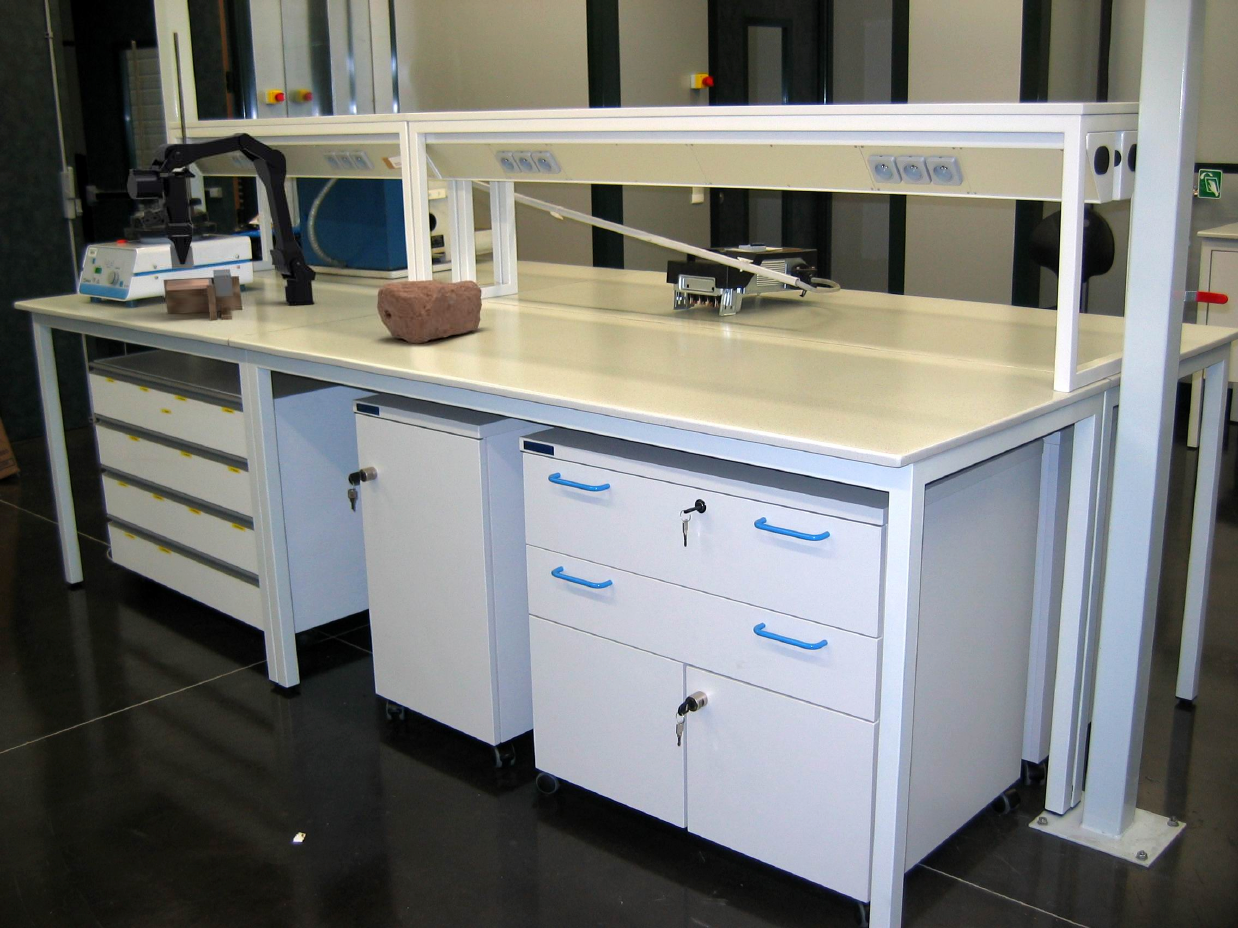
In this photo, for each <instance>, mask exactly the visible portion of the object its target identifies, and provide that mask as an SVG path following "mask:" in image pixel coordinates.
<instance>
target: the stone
mask: <svg viewBox="0 0 1238 928" xmlns="http://www.w3.org/2000/svg"><path fill="white" fill-rule="evenodd" d="M482 291H483V290H482V288H481V287H480V286H479V285H478V283H476V281H474V280H461V281H458V282H457V281H456V282H443V281H441V280H436V279H426V280H411V281H410V280H403V281H402V280H401V281H395V282H394V281H393V282H387V283H383V284H382V286H381V287H379V289H378V292H377V303H376V305H377V306H376V307H377V313H378V314H379V316H380V319H381V322H382V324H383V325H384V326H385V327H386V329H387V330H388V332H389V333H390V335H391V336H392V337H394V338H397V339H402V340H405V341H407V343H409V344H422V343H423V344H424V343H427V342H429V340H435V339H439V338H440V339H441V338H446V337H449V336H454V335H455V336H456V335H457V336H458V335H461V334H466V333H469V332H473V331H476V330H478V327H479V326H480V322H481V310H482V307H483V306H482V305H483V303H482V298H481V297H482Z"/></svg>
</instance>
